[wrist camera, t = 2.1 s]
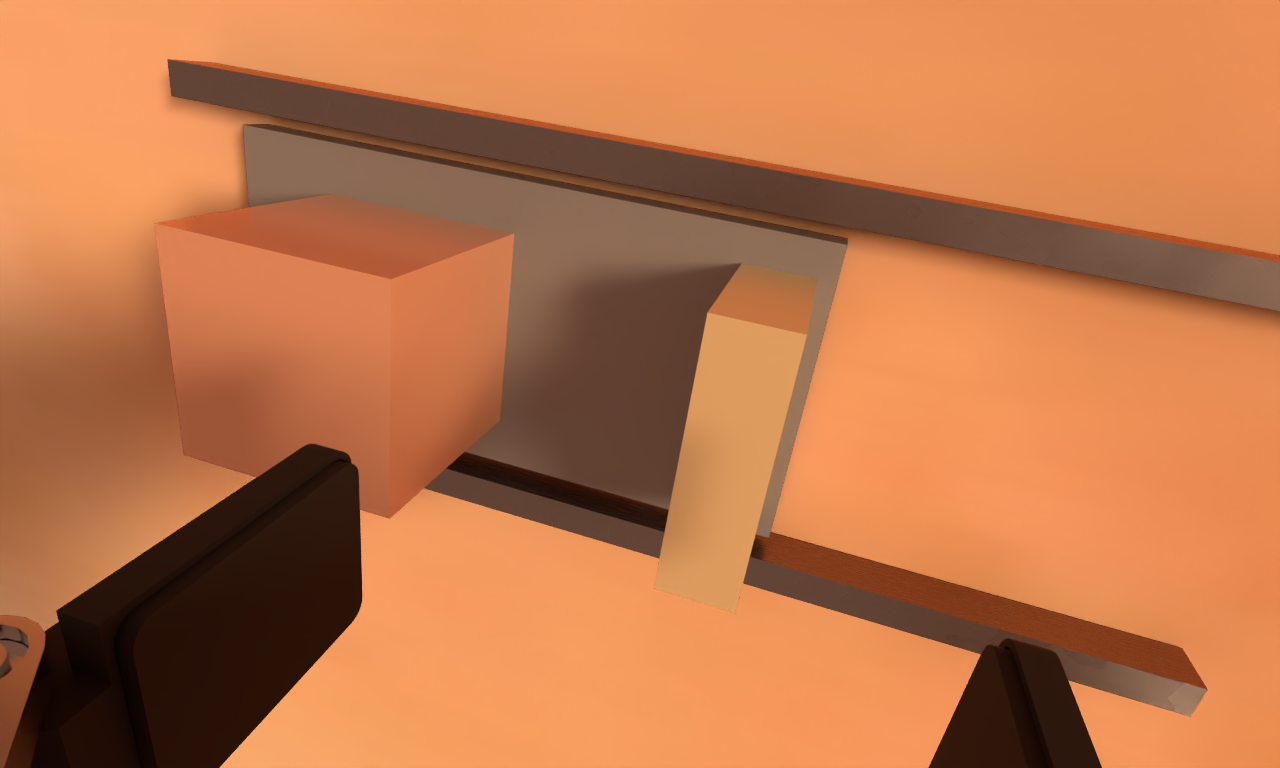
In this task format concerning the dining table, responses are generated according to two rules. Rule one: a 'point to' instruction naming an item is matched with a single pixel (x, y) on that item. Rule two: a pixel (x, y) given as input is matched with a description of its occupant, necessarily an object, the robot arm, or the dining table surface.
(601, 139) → the rails
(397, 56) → the dining table surface
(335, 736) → the dining table surface
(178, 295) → the block
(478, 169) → the grey sliding tray
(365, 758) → the dining table surface
